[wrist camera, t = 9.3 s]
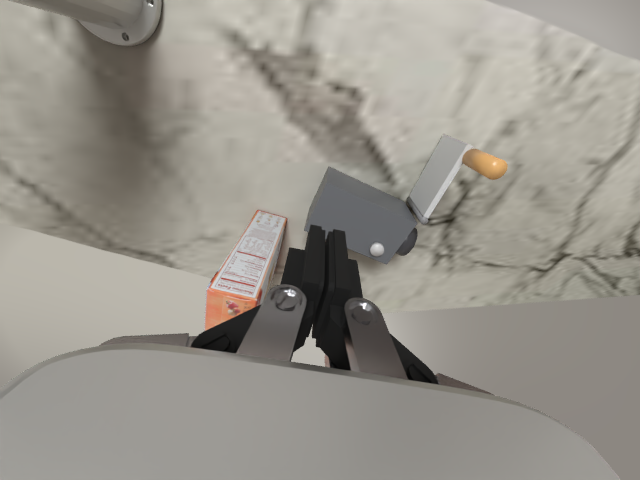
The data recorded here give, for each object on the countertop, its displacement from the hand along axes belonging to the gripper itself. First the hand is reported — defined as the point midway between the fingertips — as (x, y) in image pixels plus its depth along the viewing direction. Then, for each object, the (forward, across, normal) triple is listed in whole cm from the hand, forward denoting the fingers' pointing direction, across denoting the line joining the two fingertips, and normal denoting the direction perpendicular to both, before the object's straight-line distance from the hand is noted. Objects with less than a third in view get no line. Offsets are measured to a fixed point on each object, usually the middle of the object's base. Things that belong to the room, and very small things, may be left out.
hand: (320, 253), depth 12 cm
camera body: (+29, -9, +9) cm, 32 cm away
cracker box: (+30, +7, +21) cm, 37 cm away
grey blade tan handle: (+29, -17, +1) cm, 33 cm away
